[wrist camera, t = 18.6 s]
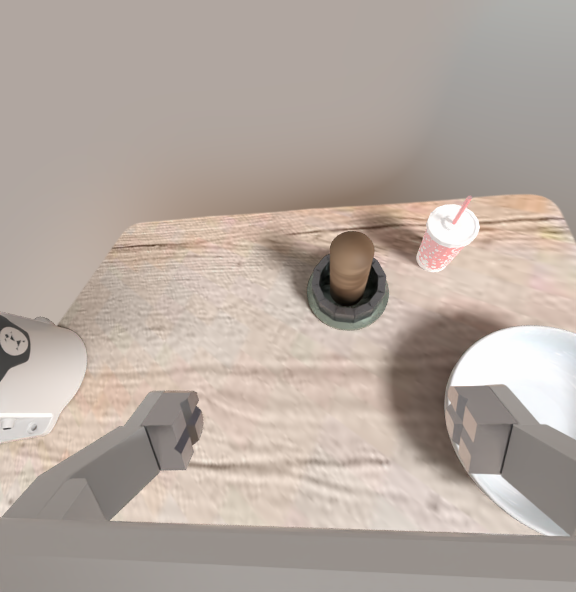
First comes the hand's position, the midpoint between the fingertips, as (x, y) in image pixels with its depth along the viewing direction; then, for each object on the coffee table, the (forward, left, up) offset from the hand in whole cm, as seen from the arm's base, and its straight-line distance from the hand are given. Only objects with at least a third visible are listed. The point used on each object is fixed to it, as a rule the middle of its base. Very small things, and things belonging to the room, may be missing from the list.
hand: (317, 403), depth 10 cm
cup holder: (+10, +15, -33) cm, 38 cm away
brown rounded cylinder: (+10, +15, -33) cm, 38 cm away
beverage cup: (+24, +15, -34) cm, 44 cm away
